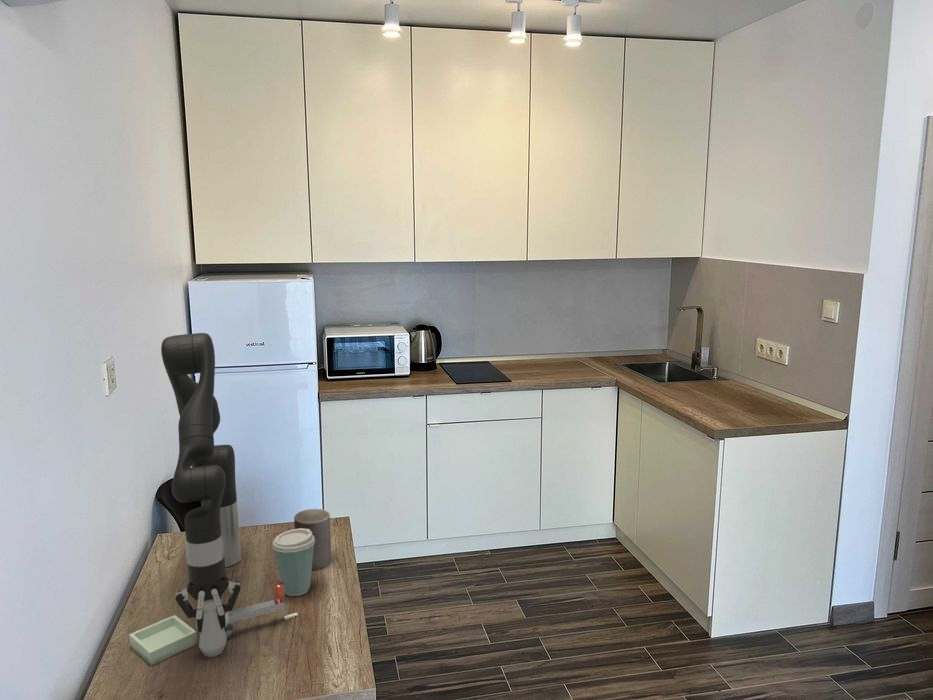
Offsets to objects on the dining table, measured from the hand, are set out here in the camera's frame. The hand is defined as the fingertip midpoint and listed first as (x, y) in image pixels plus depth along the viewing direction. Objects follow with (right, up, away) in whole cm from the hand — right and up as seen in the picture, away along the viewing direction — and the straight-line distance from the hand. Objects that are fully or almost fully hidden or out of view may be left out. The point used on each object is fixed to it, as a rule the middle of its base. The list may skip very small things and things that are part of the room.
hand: (212, 630), depth 153 cm
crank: (+4, -1, +8) cm, 9 cm away
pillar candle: (+13, +2, +41) cm, 44 cm away
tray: (-12, -5, +3) cm, 13 cm away
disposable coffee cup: (+12, 0, +27) cm, 29 cm away
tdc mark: (+14, -2, +14) cm, 20 cm away
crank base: (0, -4, +6) cm, 8 cm away
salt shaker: (0, -5, +1) cm, 5 cm away
